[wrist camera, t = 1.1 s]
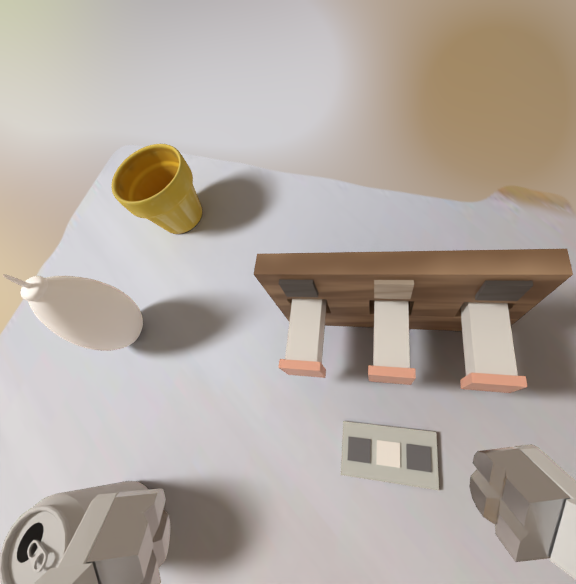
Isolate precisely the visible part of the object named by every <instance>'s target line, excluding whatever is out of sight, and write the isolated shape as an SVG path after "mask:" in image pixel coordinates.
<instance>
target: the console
mask: <svg viewBox="0 0 576 584" xmlns="http://www.w3.org/2000/svg"><path fill="white" fill-rule="evenodd" d="M254 275H255V277H256V278H257V279H258V281H259V282H260V283H261V285H262V286H263V287H264V289H265V290H266V291H267V293H268V294H269V295H270V297H271V298H272V299H273V301H274V302H275V303H276V305H277V306H278V307H279V309H280V310H281V311H282V313H283V314H284V315H285V317H286V318H287V319H288V321H289V322H290V313H291V305H292V299H326V300H327V303H326V316H325V325H328V326H352V327H374V302H375V300H380V301H408V310H409V329H425V330H449V331H462V321H461V309H460V307H461V306H462V304H463V303H464V302H477V303H508V310H509V317H510V324H511V325H512V324H514V323H515V322H516V321H517V320H519V319H520V318H521V317H522V316H523V315H525V314H526V313H527V312H528V311H529V310H531V309H532V308H533V307H534V306H536V305H537V304H538V303H539V302H540V301H542V300H543V299H544V298H545V297H546V296H548V295H549V294H550V293H551V292H552V291H554V290H555V289H556V288H557V287H559V286H560V285H561V284H562V283H563V282H565V281H566V280H567V279H568V278H569V277H571V276H572V275H573V273H572V268H571V264H570V260H569V255H568V251H567V249H524V250H463V251H402V252H342V253H281V254H257V258H256V264H255V270H254Z"/></svg>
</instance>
